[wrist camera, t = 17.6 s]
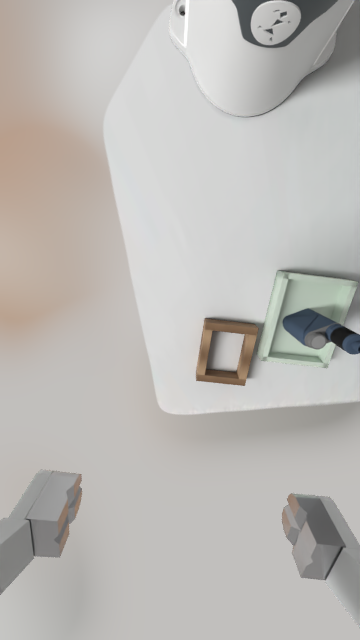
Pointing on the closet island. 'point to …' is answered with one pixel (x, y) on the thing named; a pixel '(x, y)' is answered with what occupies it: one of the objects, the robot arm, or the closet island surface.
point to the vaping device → (320, 331)
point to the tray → (293, 297)
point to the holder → (245, 355)
